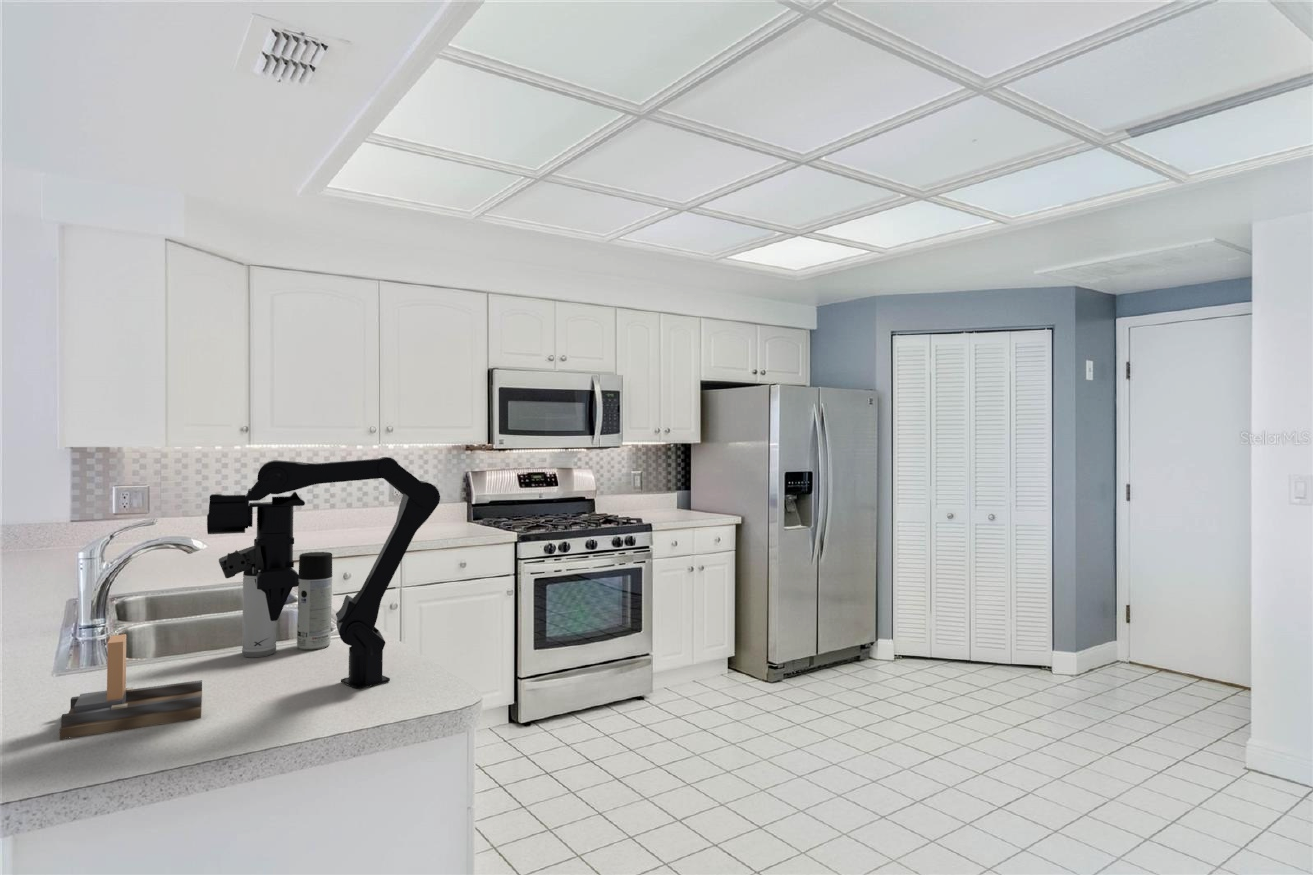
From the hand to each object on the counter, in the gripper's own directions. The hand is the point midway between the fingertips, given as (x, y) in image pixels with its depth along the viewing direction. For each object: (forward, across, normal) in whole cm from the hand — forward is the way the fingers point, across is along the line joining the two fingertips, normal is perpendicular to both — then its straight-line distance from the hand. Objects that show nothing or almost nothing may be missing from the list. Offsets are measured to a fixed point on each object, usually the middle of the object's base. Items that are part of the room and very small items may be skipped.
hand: (273, 620), depth 132 cm
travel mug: (+13, -28, -1) cm, 31 cm away
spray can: (+13, -29, +10) cm, 33 cm away
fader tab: (+11, +1, -24) cm, 27 cm away
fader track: (+13, +1, -20) cm, 24 cm away
